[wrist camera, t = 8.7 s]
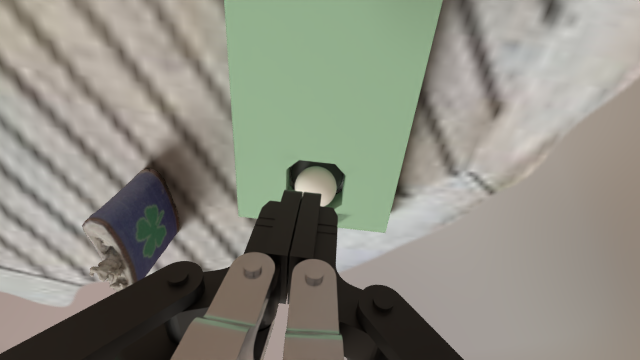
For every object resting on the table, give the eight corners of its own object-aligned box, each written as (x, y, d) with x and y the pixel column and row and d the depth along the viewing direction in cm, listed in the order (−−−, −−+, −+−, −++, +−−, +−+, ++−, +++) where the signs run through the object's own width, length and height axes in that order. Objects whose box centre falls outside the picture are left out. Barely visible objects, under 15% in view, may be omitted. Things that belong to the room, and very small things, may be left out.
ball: (294, 205, 32) (300, 167, 33) (333, 211, 32) (338, 172, 33) (289, 203, 28) (296, 159, 29) (333, 210, 28) (340, 166, 29)
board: (233, -27, 24) (222, -29, 22) (435, -8, 23) (444, -8, 21) (245, 202, 35) (238, 216, 33) (383, 217, 34) (385, 232, 32)
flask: (137, 167, 33) (59, 235, 24) (164, 167, 33) (95, 237, 24) (161, 234, 38) (103, 312, 29) (184, 235, 38) (133, 314, 29)
